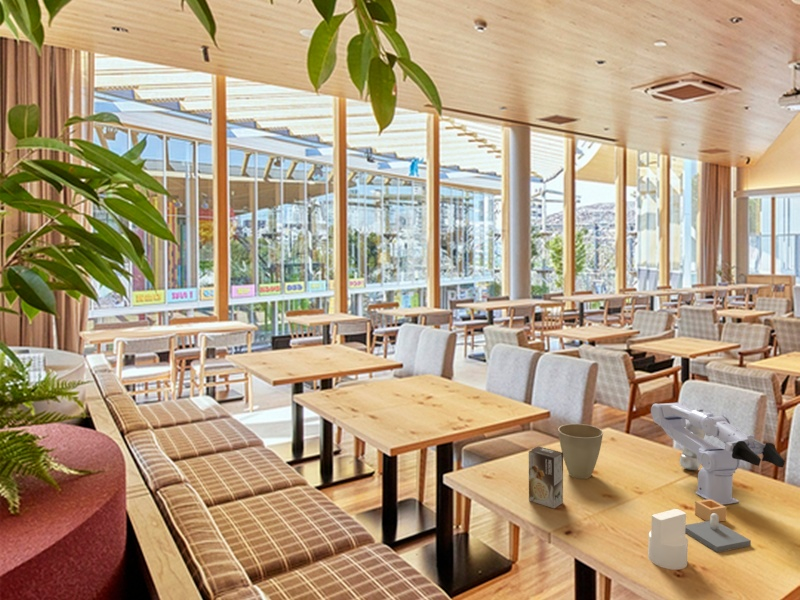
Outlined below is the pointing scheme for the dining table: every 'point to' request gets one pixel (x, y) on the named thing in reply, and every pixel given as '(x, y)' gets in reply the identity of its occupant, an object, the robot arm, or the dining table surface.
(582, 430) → the plant pot
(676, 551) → the cylinder with rectangular tab
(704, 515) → the orange loop
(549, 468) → the coffee box
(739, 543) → the hook board
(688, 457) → the plastic bottle
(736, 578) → the dining table surface
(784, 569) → the dining table surface
